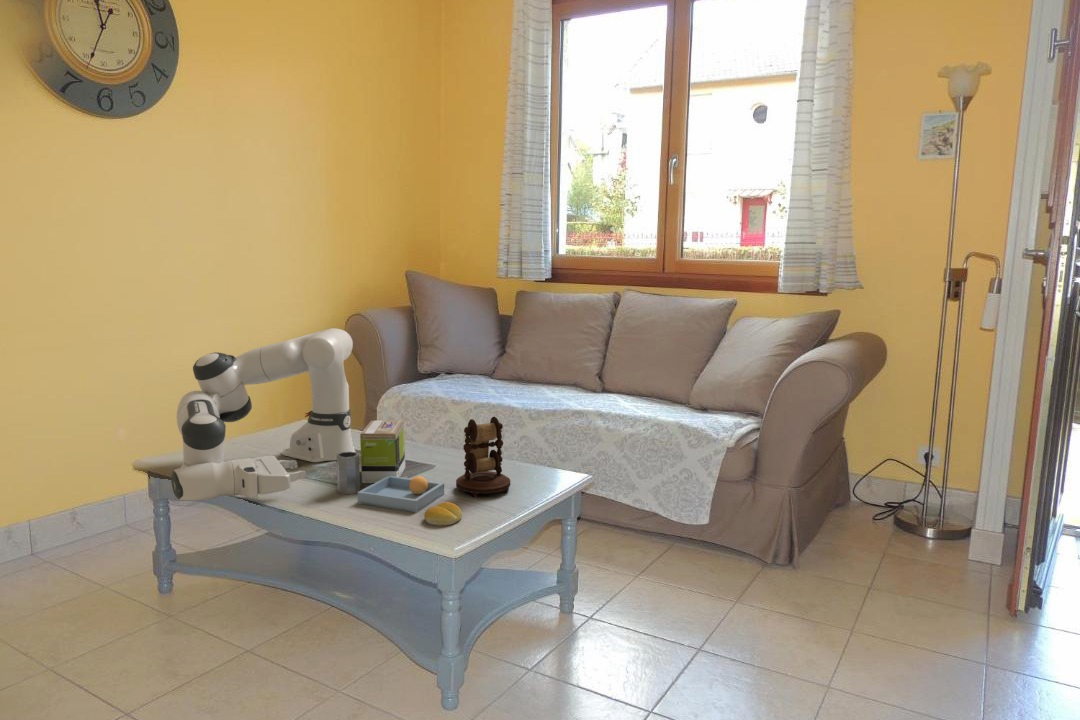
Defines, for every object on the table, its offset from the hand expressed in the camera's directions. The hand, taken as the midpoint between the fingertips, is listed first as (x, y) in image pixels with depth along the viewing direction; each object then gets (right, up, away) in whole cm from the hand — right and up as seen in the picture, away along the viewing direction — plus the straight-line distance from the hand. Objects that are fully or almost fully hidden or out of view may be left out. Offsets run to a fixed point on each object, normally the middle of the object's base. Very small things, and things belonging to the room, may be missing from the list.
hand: (300, 468), depth 198 cm
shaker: (+10, -7, +8) cm, 15 cm away
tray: (+26, -8, +2) cm, 27 cm away
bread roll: (+38, -11, -12) cm, 42 cm away
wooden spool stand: (+46, -7, +10) cm, 48 cm away
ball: (+30, -5, +4) cm, 30 cm away
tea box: (+17, -5, +21) cm, 28 cm away
